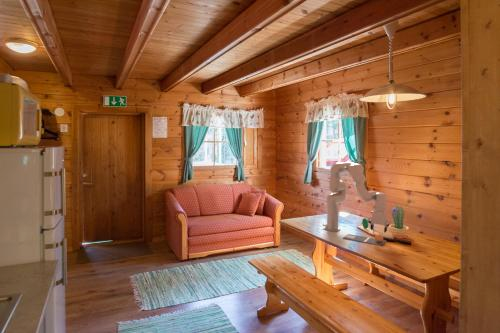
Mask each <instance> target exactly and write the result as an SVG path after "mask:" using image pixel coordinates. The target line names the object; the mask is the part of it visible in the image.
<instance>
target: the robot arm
mask: <svg viewBox="0 0 500 333" xmlns="http://www.w3.org/2000/svg"><path fill="white" fill-rule="evenodd" d="M364 172H365V169H364V165H362V164H361V163H356V162H350V161H345V162H344V161H342V162H340V161H339V162H335V163H334V164H332V165H331V167H330V177H329V184H328V185H329V187H328V189H329V191H330V192H331V193H330V194H328V195H327V196H326V200H325V201H326V207H327V208H326V211H327V213H326V223H322V226H323V227H324V230H326V231H327V232H328V231H329V232H340V231H341V228H340V227H339V213H340V212H339V206H338V205H339V204H343V203H344V202H345V200H346V194H347V192H346V191H347V184H346V182H345V181H344V180H341V173H348V174H349V175H350V177H351V178H352V180H353V181H354V183H355V184H356V190H357V192H358V195H359V196H360V197H361V199H362V200H363V201H364V202H373V201H374V206H372V209H373V210H372V211H373V214H372V213H371V217H368V218H367V220H368V222H369V223H368V224H369V225H370V228H369V229H371V230H373V223H374V225H375V224H376V225H383V226H384V229H383V232H384V233H386V232H387V231H388V228H389V227H388V226H389V225H392V221H391V220H389V219H388V218H387V210H386V206H387V205H386V204H387V203H386V202H387V193H384V192H379V191H377V190H367V188H366V186H365V182H366V181H367V178H366V176H365V175H364V174H363V173H364ZM371 220H372V221H371ZM387 223H388V224H387Z"/></svg>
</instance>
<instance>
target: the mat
mask: <svg viewBox="0 0 500 333" xmlns="http://www.w3.org/2000/svg"><path fill="white" fill-rule="evenodd" d="M342 239H343V240H348V241H354V242H359V243H364V244H369V245H370V244H371V245H376V246H382V247H383V246H384V245H385V244H386V242H387V240H386V239H383V241H381V242H377V241H376V240H375V237H374V238H372V237H369V236H368V237H367V236H361V235H354V234H349V233H348V234H346V235H345V236H343V237H342Z"/></svg>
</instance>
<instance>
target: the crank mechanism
mask: <svg viewBox="0 0 500 333" xmlns="http://www.w3.org/2000/svg"><path fill="white" fill-rule="evenodd" d="M370 213H371V215H372V214H373V210H370ZM370 221H371V222H372V219H370ZM361 224H362V225H359V226H356V227H357V229H358V230H360V231H362V232H364V233H366V234H368V235H369V236H372V237H375V236H376V235H377V234H380V233H378V232H377V231H375V223H373V230H371V229H370V228H369V224H370V223H369V222H368V218H366V217H363V218H362V222H361Z"/></svg>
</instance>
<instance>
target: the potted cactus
mask: <svg viewBox="0 0 500 333" xmlns="http://www.w3.org/2000/svg"><path fill="white" fill-rule="evenodd" d="M390 212H391V217H392V220H393V224H390V225H389V226H388V227H387V228H388V229H389V231H390V233H391V237H393V238H395V237H396V239H403V238H405V235H406V234H407V233H408V231H409V229H410V228H409V226H407V225H404V218H405V210H404V208H403V207H402V206H401V205H395V206H394V207H393V208H392V209H391V210H390Z"/></svg>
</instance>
